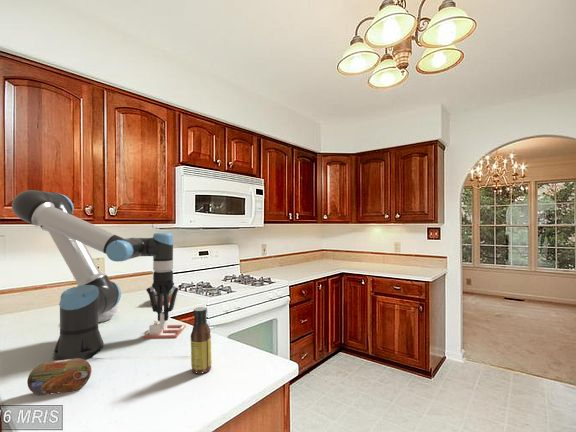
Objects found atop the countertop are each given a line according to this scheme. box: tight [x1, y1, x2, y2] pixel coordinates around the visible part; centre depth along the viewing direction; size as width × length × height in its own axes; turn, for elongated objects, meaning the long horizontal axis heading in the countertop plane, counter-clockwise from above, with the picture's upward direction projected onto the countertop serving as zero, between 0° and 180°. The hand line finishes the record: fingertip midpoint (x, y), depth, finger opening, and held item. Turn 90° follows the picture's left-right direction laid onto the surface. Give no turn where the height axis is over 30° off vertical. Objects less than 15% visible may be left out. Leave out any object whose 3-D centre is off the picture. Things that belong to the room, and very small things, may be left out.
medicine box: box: [150, 288, 173, 307], centre depth 184 cm, size 15×8×8 cm, turn 1°
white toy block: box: [154, 317, 168, 330], centre depth 134 cm, size 4×4×5 cm
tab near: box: [148, 321, 164, 335], centre depth 128 cm, size 4×4×5 cm
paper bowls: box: [98, 303, 119, 323], centre depth 152 cm, size 15×15×8 cm
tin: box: [26, 358, 93, 396], centre depth 89 cm, size 15×3×8 cm, turn 105°
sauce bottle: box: [190, 306, 212, 373], centre depth 101 cm, size 6×6×20 cm
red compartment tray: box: [142, 324, 187, 340], centre depth 131 cm, size 13×13×2 cm
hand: (163, 328), depth 128 cm, fingers closed
